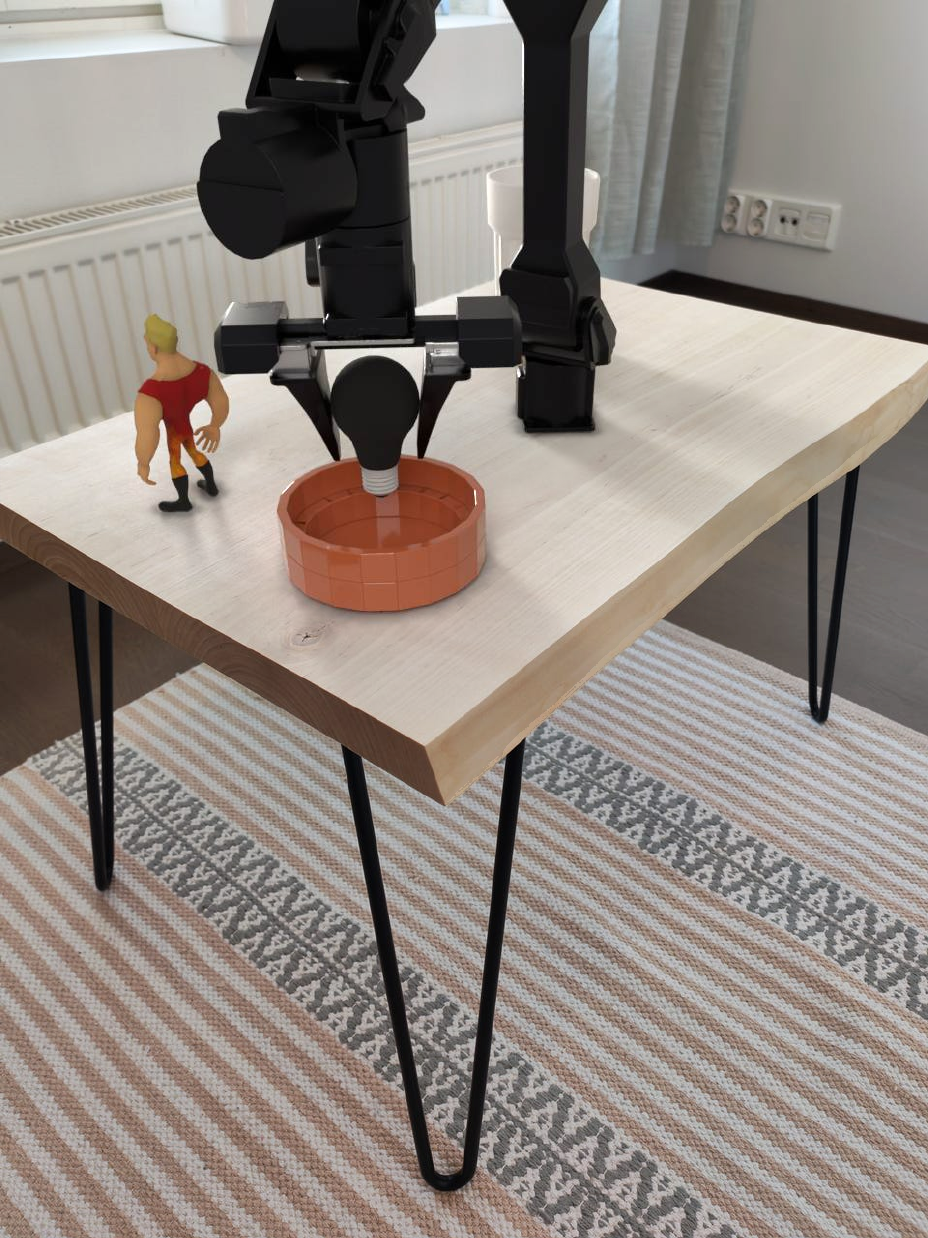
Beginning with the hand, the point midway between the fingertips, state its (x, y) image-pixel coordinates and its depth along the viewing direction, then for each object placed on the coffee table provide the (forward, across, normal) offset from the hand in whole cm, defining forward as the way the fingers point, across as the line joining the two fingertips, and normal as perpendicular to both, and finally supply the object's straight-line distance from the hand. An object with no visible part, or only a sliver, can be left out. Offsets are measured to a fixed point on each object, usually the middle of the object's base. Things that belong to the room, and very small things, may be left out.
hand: (379, 457), depth 67 cm
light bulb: (+3, 0, 0) cm, 3 cm away
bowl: (+8, 0, 0) cm, 8 cm away
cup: (+9, -15, -43) cm, 46 cm away
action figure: (+8, +16, -10) cm, 21 cm away
